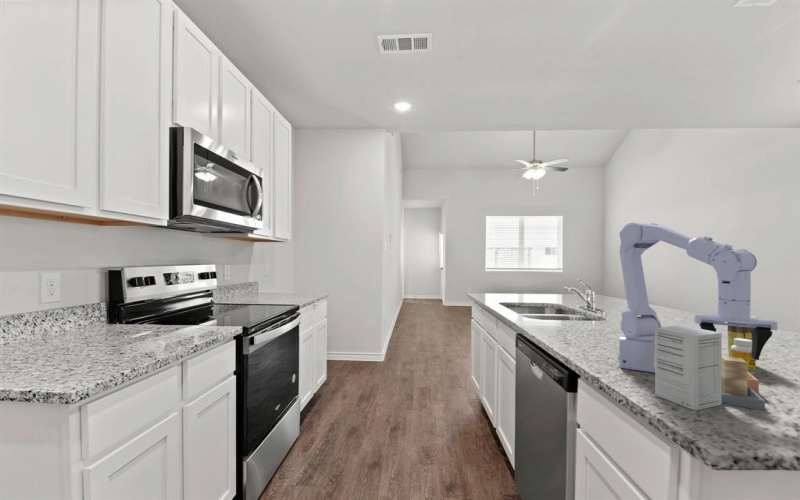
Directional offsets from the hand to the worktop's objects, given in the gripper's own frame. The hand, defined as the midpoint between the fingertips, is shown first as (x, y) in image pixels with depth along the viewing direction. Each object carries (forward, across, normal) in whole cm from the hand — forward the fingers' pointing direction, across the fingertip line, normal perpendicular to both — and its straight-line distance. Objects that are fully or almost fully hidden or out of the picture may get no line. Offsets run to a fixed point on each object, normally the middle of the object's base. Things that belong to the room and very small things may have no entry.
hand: (733, 356), depth 86 cm
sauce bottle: (+11, +10, +38) cm, 41 cm away
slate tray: (+10, 0, 0) cm, 10 cm away
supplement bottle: (+11, +8, +28) cm, 32 cm away
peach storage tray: (+10, 0, +14) cm, 17 cm away
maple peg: (+10, 0, 0) cm, 10 cm away
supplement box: (+11, -10, -7) cm, 16 cm away
